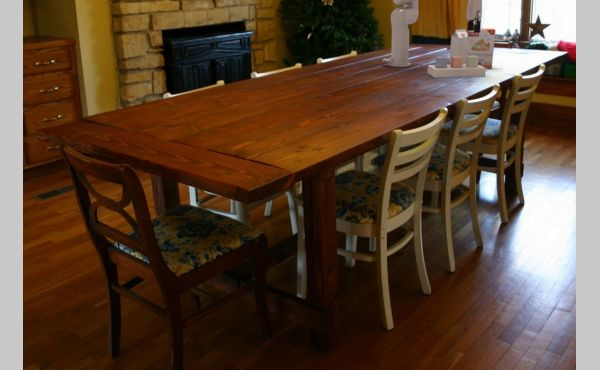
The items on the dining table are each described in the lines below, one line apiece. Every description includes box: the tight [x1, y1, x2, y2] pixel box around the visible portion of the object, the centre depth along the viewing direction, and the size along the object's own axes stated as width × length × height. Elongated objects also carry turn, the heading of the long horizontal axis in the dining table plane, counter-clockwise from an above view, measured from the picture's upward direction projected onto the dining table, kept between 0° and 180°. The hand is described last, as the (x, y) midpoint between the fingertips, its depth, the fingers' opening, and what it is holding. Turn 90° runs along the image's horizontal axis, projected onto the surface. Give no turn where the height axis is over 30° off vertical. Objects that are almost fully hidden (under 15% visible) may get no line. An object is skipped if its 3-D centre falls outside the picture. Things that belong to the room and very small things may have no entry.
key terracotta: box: [449, 56, 463, 68], centre depth 319 cm, size 5×5×5 cm
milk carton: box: [449, 28, 468, 64], centre depth 350 cm, size 7×7×19 cm
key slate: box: [434, 56, 449, 68], centre depth 318 cm, size 5×5×5 cm
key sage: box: [466, 56, 479, 67], centre depth 319 cm, size 5×5×5 cm
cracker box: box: [465, 27, 496, 70], centre depth 335 cm, size 14×6×21 cm, turn 82°
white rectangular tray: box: [427, 64, 487, 79], centre depth 320 cm, size 26×14×4 cm, turn 94°
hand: (473, 31), depth 315 cm, fingers open, 9 cm apart
